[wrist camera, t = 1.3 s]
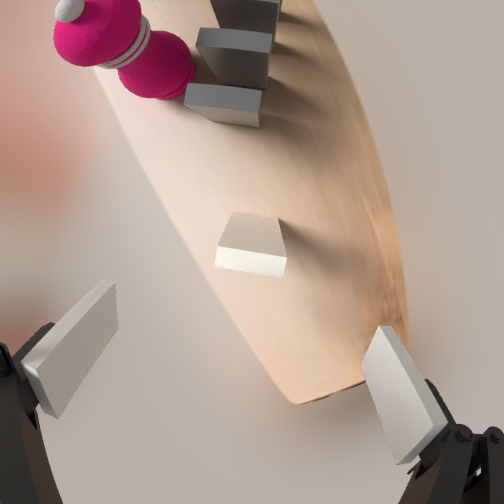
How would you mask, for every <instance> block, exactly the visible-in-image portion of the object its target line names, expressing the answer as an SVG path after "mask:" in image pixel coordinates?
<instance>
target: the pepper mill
mask: <svg viewBox="0 0 504 504" xmlns="http://www.w3.org/2000/svg"><path fill="white" fill-rule="evenodd" d="M55 16H56V19H57V22H56V25H55V29H54V38H53V40H54V45H55V48H56V50H57V52H58V54H59V55H60V56H61V57H62V58H63V59H64V60H66V61H68V62H70V63H71V64H74V65H77V66H83V67H87V66H95V65H96V66H99V67H101V68H105V69H115V68H116V69H117V70H118V75H119V78H120V80H121V82H122V83H123V85H124V86H125V88H127V89H128V90H129V91H130V92H132V93H134V94H135V95H137V96H140V97H144V98H157V99H171V98H174V97H176V96H178V95H180V94H181V93H183V92H184V91H185V90H186V88H187V83H192V81H193V78H194V74H195V65H194V62H193V60H192V59H191V54H190V50H189V48H188V46H187V45H186V43H185V42H184V41H183V40H182V39H180V38H179V37H178V36H176V35H174V34H172V33H169V32H166V31H152V30H150V24H149V22H148V20H147V19H146V17H144V16H143V15H142V13H141V6H140V3H139V1H138V0H62V1H60V2H59V4H58V5H57V7H56V9H55Z"/></svg>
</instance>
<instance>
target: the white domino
mask: <svg viewBox="0 0 504 504" xmlns="http://www.w3.org/2000/svg"><path fill="white" fill-rule="evenodd" d="M286 261H287V254H286V250H285V246H284V242H283V238H282V233H281V229H280V225H279V221H278V218H274V217H268V216H262V215H257V214H251V213H245V212H239V211H233V212H232V214H231V216H230V219H229V221H228V223H227V225H226V228H225V230H224V232H223V234H222V237H221V239H220V241H219V243H218V246H217V253H216V260H215V267H220V268H226V269H232V270H238V271H244V272H250V273H256V274H262V275H268V276H274V277H280V278H283V274H284V270H285V266H286Z"/></svg>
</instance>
